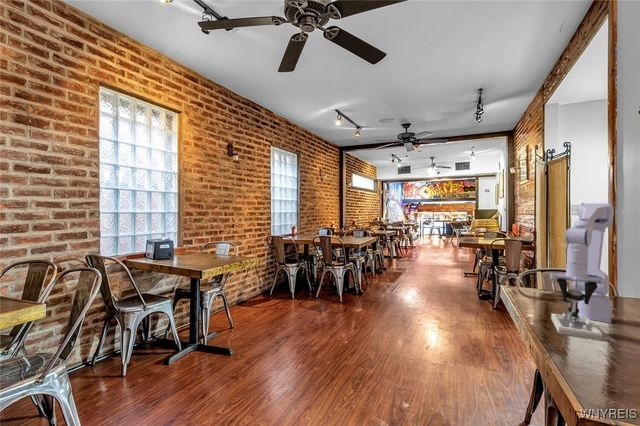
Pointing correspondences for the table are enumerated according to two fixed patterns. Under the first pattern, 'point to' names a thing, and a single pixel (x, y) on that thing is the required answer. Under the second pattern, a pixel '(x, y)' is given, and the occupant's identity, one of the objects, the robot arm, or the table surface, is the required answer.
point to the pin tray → (576, 327)
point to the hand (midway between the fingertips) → (575, 302)
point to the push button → (574, 303)
